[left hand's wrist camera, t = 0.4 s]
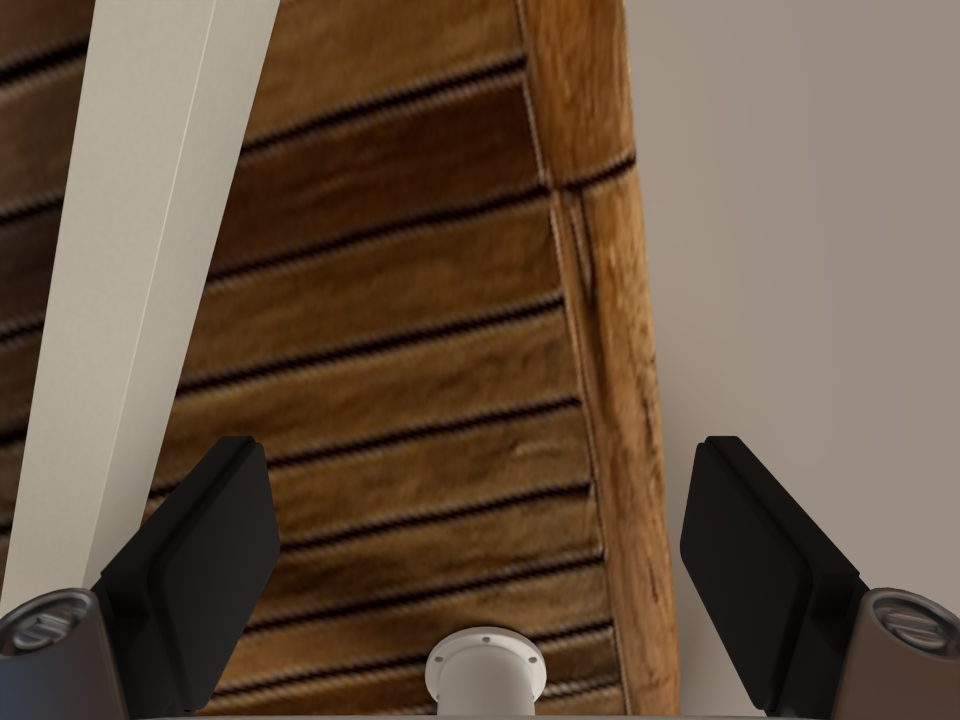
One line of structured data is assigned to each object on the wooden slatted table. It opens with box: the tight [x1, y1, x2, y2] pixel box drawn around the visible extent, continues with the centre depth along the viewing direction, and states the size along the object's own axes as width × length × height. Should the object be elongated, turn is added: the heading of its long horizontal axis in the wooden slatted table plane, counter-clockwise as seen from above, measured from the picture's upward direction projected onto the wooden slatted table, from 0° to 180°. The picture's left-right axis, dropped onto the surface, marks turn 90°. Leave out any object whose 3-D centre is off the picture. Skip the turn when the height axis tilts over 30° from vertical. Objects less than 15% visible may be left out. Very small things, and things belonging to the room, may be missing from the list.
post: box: [0, 0, 280, 619], centre depth 38 cm, size 76×6×8 cm, turn 156°
